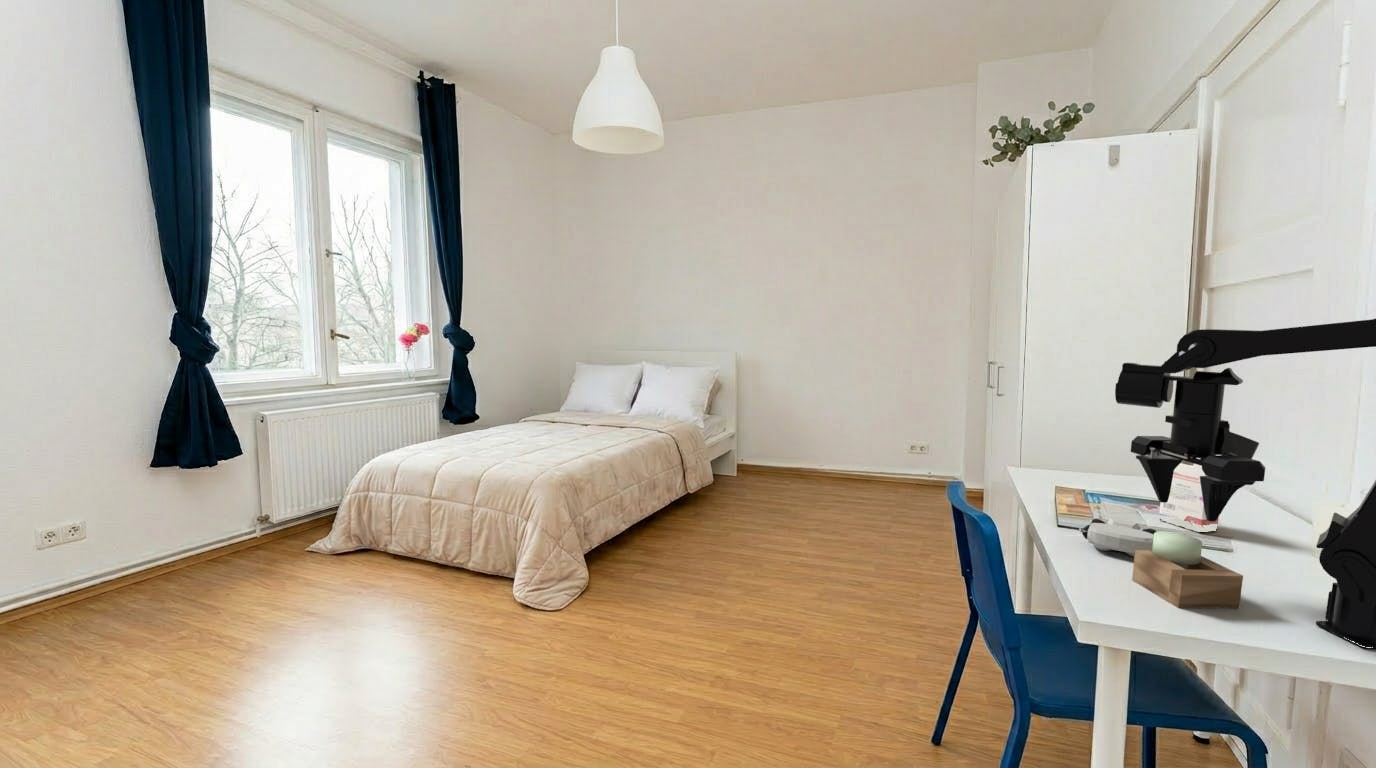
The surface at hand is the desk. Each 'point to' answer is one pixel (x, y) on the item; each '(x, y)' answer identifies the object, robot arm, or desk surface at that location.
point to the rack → (1188, 582)
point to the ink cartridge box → (1186, 496)
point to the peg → (1177, 548)
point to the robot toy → (1118, 536)
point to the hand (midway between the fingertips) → (1186, 511)
